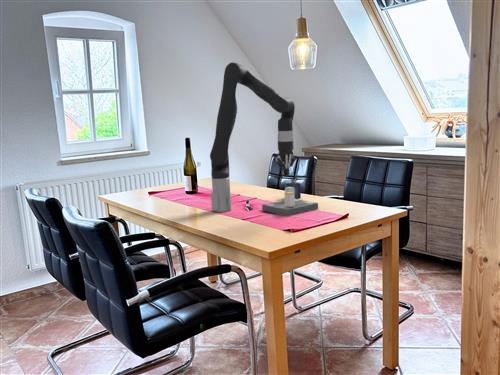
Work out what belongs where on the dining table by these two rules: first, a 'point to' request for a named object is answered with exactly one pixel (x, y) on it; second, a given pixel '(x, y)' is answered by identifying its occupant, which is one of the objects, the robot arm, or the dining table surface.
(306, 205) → the dual slider panel
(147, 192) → the dining table surface
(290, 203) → the block
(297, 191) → the flask
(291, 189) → the block
